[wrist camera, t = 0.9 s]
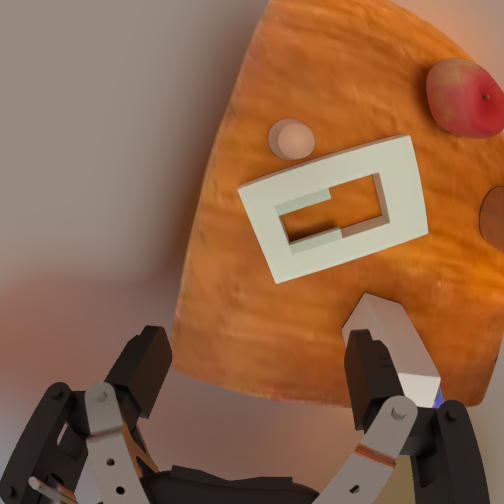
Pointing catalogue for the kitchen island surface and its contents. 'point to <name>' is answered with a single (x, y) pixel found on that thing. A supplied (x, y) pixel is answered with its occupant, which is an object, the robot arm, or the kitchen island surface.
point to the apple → (465, 99)
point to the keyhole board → (316, 190)
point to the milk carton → (398, 346)
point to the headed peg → (291, 139)
